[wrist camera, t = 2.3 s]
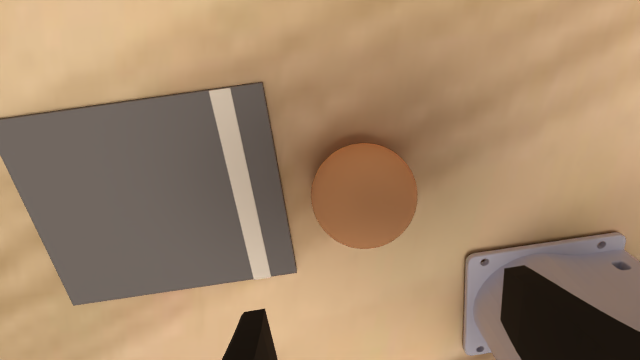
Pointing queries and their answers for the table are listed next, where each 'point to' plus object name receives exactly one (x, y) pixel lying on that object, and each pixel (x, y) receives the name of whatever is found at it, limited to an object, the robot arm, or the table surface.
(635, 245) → the table surface
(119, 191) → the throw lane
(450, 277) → the table surface
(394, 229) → the ball
